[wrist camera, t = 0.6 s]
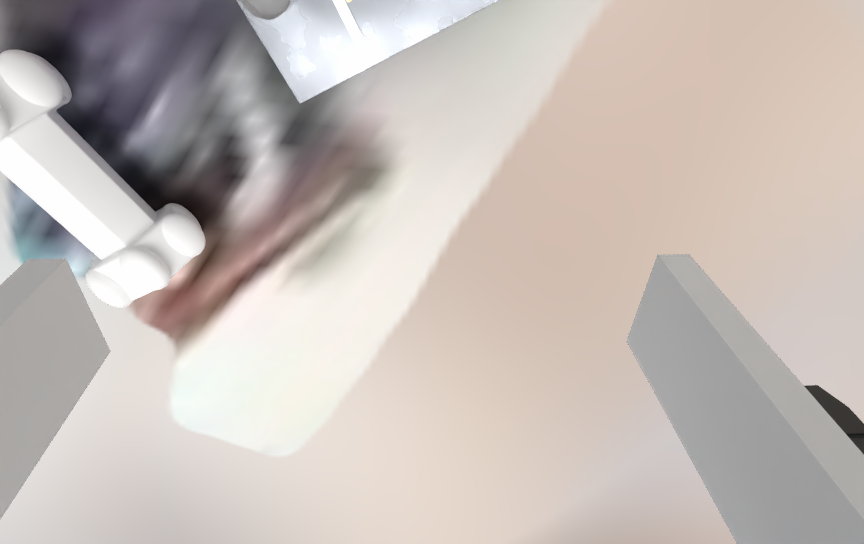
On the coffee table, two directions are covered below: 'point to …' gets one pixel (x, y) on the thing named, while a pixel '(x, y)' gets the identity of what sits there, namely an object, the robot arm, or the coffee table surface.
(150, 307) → the coffee table surface
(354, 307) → the coffee table surface
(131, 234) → the bone shaped toy
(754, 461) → the robot arm
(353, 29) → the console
